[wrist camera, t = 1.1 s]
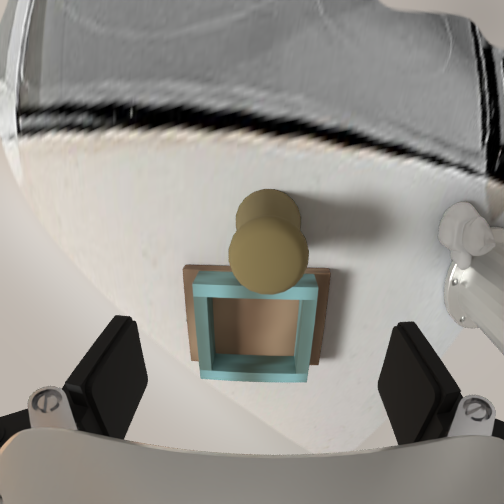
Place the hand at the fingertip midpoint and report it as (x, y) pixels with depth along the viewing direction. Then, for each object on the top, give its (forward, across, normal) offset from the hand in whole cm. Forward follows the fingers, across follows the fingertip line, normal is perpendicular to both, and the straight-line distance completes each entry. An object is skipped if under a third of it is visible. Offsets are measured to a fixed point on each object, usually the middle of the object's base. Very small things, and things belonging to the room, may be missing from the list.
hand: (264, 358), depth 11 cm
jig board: (+20, +1, +10) cm, 22 cm away
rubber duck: (+20, -20, 0) cm, 28 cm away
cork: (+20, 0, 0) cm, 20 cm away
